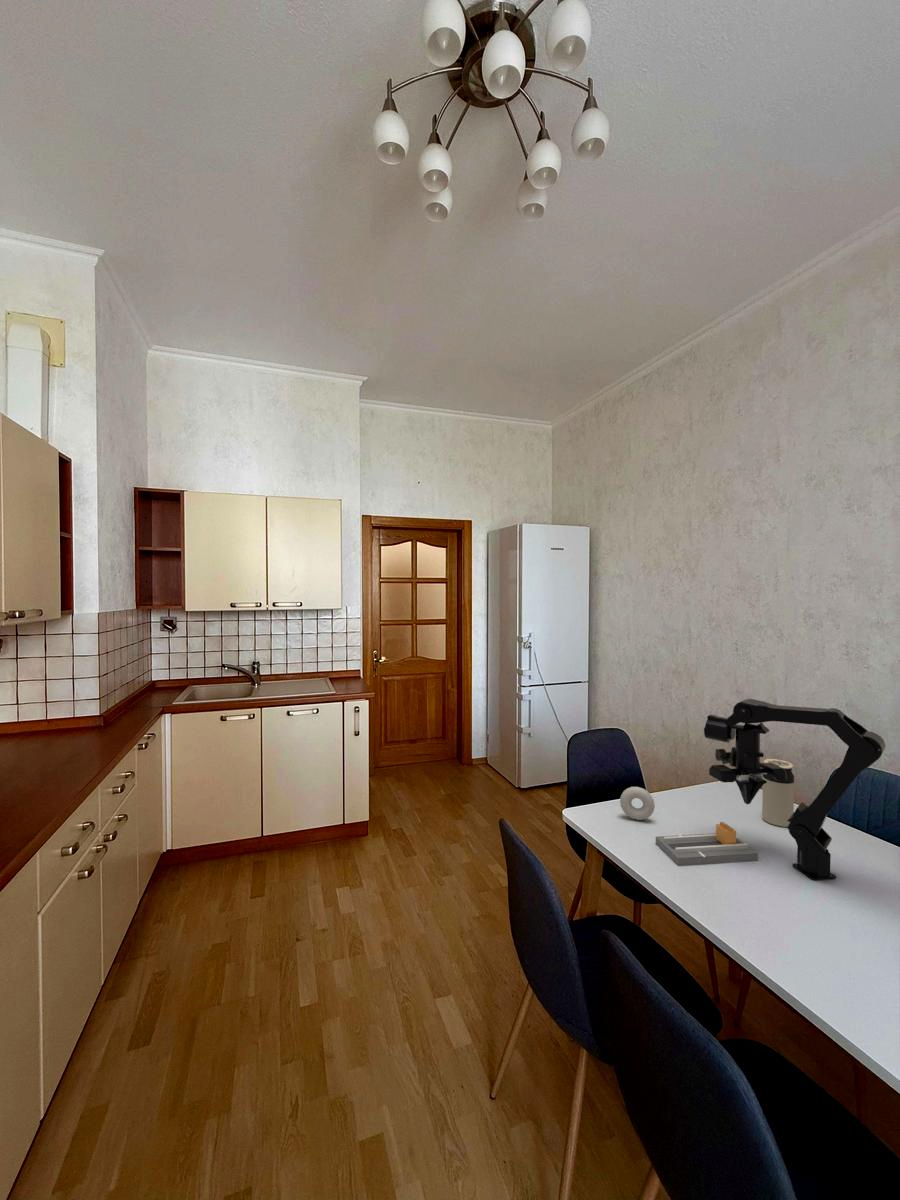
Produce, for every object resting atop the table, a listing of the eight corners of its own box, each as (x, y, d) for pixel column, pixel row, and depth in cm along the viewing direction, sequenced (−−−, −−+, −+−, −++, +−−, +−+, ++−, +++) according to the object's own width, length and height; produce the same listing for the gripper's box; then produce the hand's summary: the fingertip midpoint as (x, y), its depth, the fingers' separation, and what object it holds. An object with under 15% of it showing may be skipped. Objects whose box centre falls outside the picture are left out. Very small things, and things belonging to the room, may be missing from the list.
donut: (654, 819, 151) (654, 787, 151) (654, 824, 148) (655, 791, 148) (620, 814, 155) (620, 782, 155) (619, 819, 152) (619, 786, 151)
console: (758, 861, 128) (758, 849, 128) (678, 866, 126) (679, 854, 125) (728, 838, 139) (728, 828, 139) (655, 843, 137) (655, 832, 137)
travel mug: (798, 828, 145) (799, 768, 145) (768, 826, 147) (769, 766, 147) (786, 816, 153) (786, 759, 153) (757, 814, 155) (758, 757, 154)
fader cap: (736, 845, 131) (736, 828, 131) (725, 846, 131) (725, 829, 131) (726, 838, 135) (726, 821, 135) (715, 838, 135) (716, 822, 135)
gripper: (757, 736, 142) (757, 790, 143) (697, 738, 140) (696, 793, 141) (788, 748, 131) (787, 806, 132) (723, 751, 129) (722, 810, 129)
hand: (747, 803), depth 134 cm, fingers closed
